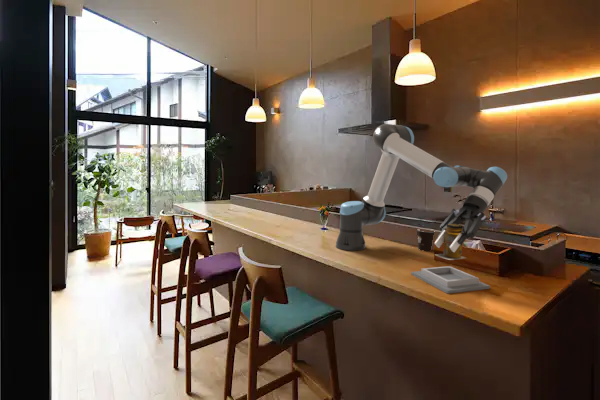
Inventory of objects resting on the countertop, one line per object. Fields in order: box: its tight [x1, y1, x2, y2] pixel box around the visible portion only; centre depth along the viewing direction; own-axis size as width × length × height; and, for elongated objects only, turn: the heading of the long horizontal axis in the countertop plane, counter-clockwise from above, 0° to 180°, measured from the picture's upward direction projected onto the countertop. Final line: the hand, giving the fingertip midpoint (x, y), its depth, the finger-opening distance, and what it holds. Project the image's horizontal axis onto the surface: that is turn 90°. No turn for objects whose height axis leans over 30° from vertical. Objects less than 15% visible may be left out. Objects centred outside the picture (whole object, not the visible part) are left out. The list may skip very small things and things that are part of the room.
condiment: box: [434, 223, 467, 261], centre depth 121 cm, size 7×8×12 cm
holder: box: [410, 265, 491, 294], centre depth 123 cm, size 20×18×3 cm
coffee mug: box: [416, 228, 436, 252], centre depth 170 cm, size 12×9×10 cm
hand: (444, 247), depth 120 cm, fingers closed on condiment, 6 cm apart
